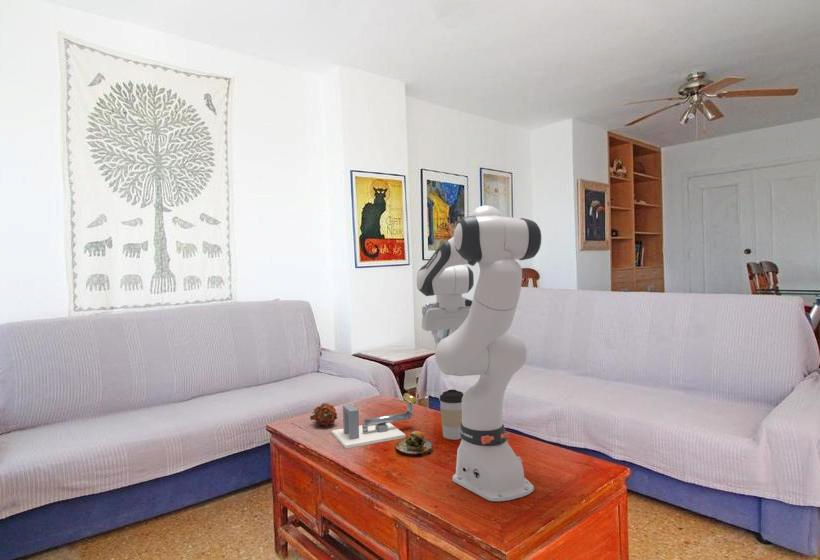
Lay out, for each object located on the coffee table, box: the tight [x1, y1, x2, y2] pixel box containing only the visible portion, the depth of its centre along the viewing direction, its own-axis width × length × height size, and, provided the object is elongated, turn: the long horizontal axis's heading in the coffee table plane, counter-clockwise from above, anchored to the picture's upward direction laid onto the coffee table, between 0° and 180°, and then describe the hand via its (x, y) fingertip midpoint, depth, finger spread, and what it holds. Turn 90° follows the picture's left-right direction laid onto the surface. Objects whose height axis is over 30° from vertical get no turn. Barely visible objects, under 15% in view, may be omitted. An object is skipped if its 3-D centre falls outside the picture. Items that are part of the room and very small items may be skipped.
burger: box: [394, 425, 434, 457], centre depth 154 cm, size 12×12×8 cm
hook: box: [361, 392, 418, 432], centre depth 171 cm, size 19×6×10 cm, turn 115°
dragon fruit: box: [309, 402, 338, 427], centre depth 180 cm, size 8×8×12 cm
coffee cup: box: [438, 389, 464, 440], centre depth 166 cm, size 9×9×15 cm
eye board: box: [331, 403, 407, 450], centre depth 168 cm, size 21×16×10 cm
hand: (449, 341), depth 170 cm, fingers open, 8 cm apart
